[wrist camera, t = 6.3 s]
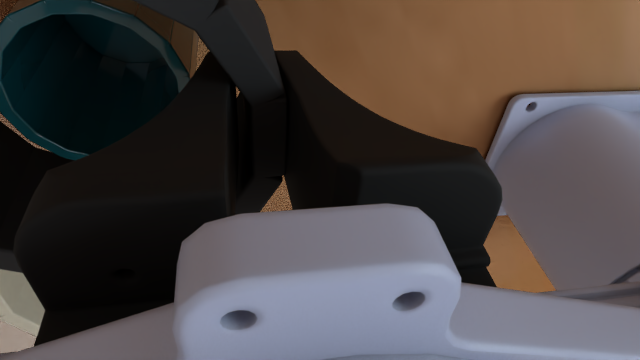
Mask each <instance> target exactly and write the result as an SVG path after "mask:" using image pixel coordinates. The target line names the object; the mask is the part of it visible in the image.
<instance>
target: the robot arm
mask: <svg viewBox="0 0 640 360" xmlns="http://www.w3.org/2000/svg"><path fill="white" fill-rule="evenodd" d="M274 53H275V57H276V61H277V64H278V68H279V72H280V75H281V78H282V82H283V86H284V89H285V93H286V96H287V100H288V109H287V150H286V173H285V175H284V177H285V181H286V185H287V189H288V193H289V196H290V200H291V204H292V209H293V210H286V211H272V212H258V213H244V214H238V215H235V212H236V193H237V177H238V161H239V133H238V116H237V99H236V85H235V84H234V83H233V81H232V80H231V79H230V77H229V76H228V75H227V73H226V72H225V71H224V69H223V68H222V67H221V65H220V64H219V63H218V61H217V60H216V59H215V57H214V56H213V55H212V53H211V52H209V53H208V54H207V55H206V56H205V58H204V60H203V61H202V63H201V65H200V66H199V68H198V69H197V71H196V72H195V74H194V75H193V76H192V78H191V79H190V80H189V82H188V83H187V84H186V86H185V87H184V88H183V89H182V90H181V92H180V93H179V94H178V95H177V96H176V97H175V98H174V99H173V100H172V102H171V103H170V104H169V105H168V106H167V107H166V108H165V109H164V110H162V111H161V112H160V113H159V114H158V115H156V116H155V117H154V118H153V119H151V120H150V121H149V122H147V123H146V124H144V125H143V126H141V127H140V128H138V129H136V130H135V131H133V132H132V133H130V134H129V135H127V136H126V137H124V138H122V139H120V140H119V141H117V142H115V143H113V144H111V145H109V146H107V147H105V148H103V149H101V150H99V151H97V152H95V153H92V154H90V155H88V156H85V157H83V158H80V159H77V160H75V161H72V162H69V163H67V164H64V165H62V166H59V167H56V168H53V169H50V170H47V172H46V173H45V175H44V177H43V179H42V180H41V182H40V184H39V185H38V187H37V189H36V190H35V192H34V194H33V196H32V198H31V200H30V202H29V205H28V207H27V209H26V212H25V214H24V217H23V219H22V221H21V224H20V226H19V228H18V231H17V233H16V235H15V240H14V249H13V252H14V255H15V258H16V261H17V263H18V266H19V268H20V269H21V271H22V273H23V274H24V276H25V278H26V279H27V281H28V283H29V284H30V286H31V288H32V289H33V291H34V293H35V294H36V296H37V298H38V299H39V301H40V302H41V304H42V306H43V307H44V309H45V312H44V316H43V319H42V322H41V325H40V328H39V332H38V335H37V338H36V341H35V344H34V347H31V348H28V349H24V350H21V351H18V352H10V353H1V354H0V360H640V91H612V92H577V93H542V94H520V95H517V96H515V97H513V98H512V99H511V100H510V102H509V103H508V105H507V108H506V110H505V113H504V115H503V118H502V120H501V123H500V125H499V128H498V130H497V133H496V135H495V137H494V140H493V142H492V145H491V147H490V150H489V152H488V155H487V157H486V160H484V158H483V157H482V156H481V154H480V153H479V152H478V150H477V149H476V148H473V147H469V146H464V145H460V144H456V143H452V142H448V141H444V140H440V139H437V138H434V137H431V136H428V135H425V134H422V133H419V132H416V131H413V130H411V129H408V128H406V127H403V126H401V125H398V124H396V123H394V122H392V121H390V120H388V119H385V118H383V117H381V116H379V115H378V114H376V113H374V112H372V111H370V110H369V109H367V108H365V107H364V106H362V105H360V104H359V103H357V102H356V101H354V100H353V99H351V98H350V97H348V96H347V95H346V94H344V93H343V92H342V91H340V90H339V89H338V88H337V87H335V86H334V85H333V84H332V83H330V82H329V81H328V80H327V79H326V78H325V77H324V76H322V75H321V74H320V73H319V72H318V71H317V70H316V69H315V68H314V67H313V66H312V65H311V64H310V63H309V62H308V61H307V60H306V59H305V58H304V57H303V56H302V55H301V54H300V53H299V52H297V51H296V50H294V51H274ZM530 103H531V105H529V106H528V107H527V105H528V104H530ZM500 215H508V216H509V218H510V220H511V221H512V223H513V224H514V226H515V227H516V229H517V230H518V232H519V233H520V235H521V237H522V238H523V240H524V241H525V243H526V244H527V246H528V247H529V249H530V251H531V252H532V254H533V255H534V257H535V258H536V260H537V261H538V263H539V264H540V266H541V268H542V269H543V271H544V272H545V274H546V275H547V277H548V278H549V280H550V281H551V283H552V285H553V286H554V288H555V289H556V291H549V292H540V293H532V292H525V291H518V290H511V289H504V288H497V287H496V285H495V283H494V281H493V279H492V277H491V275H490V274H489V272H488V270H487V268H486V266H489V264H490V257H489V255H488V253H487V251H486V249H485V248H484V246H483V244H484V242H485V240H486V238H487V236H488V233H489V231H490V229H491V227H492V225H493V223H494V221H495V219H496V217H497V216H500Z"/></svg>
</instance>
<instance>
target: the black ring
mask: <svg viewBox="0 0 640 360" xmlns="http://www.w3.org/2000/svg"><path fill="white" fill-rule="evenodd" d="M133 1H135V2H137V3H139V4H141V5H143V6H145V7H147V8H149V9H151V10H153V11H155V12H157V13H159V14H161V15H163V16H165V17H168V18H170V19H172V20H174V21H176V22H178V23H180V24H182V25H184V26H186V27H188V28H190V29H192V30H194V31H195V32H196V33H197V35H198V36H199V37H200V39H201V40H202V41H203V43H204V44H205V45H206V47H207V48H208V49H209V51H210V52H211V53H212V55H213V56H214V57H215V59H216V60H217V61H218V63H219V64H220V65H221V67H222V68H223V69H224V71H225V72H226V73H227V75H228V76H229V77H230V79H231V80H232V81H233V83H234V84H235V85H236V87H237V88H238V89H239V91H240V93H239V95H238V97H237V98H236V99H237V116H238V133H239V161H238V177H237V193H236V212H235V215H238V214H244V213H258V212H260V211H261V210H262V208H263V207H264V205H265V204H266V203H267V201H268V200H269V199H270V197H271V196H272V195H273V193H274V192H275V191H276V189H277V188H278V187H279V185H280V184H281V183H282V176H283V175H285V173H286V150H287V109H288V100H287V96H286V93H285V89H284V86H283V82H282V78H281V75H280V72H279V68H278V64H277V61H276V57H275V53H274V49H273V45H272V42H271V38H270V34H269V31H268V27H267V24H266V20H265V17H264V14H263V13H262V11H261V9H260V8H259V6H258V4H257V3H256V1H255V0H133ZM72 161H75V160H71V159H66V158H63V157H60V156H58V155H56V154H54V153H52V152H49V151H45V150H42V149H39V148H35V147H34V146H32V145H31V144H30V143H28V142H27V141H26V140H24V139H23V138H22V137H20V136H19V135H18V134H16V133H15V132H14V131H12V130H11V129H10V128H8V127H7V126H6V125H5V124H3V123H2V122H1V121H0V269H2V270H7V271H13V272H19V273H22V271H21V269H20V268H19V266H18V263H17V261H16V258H15V255H14V252H13V249H14V240H15V235H16V233H17V231H18V228H19V226H20V224H21V221H22V219H23V217H24V214H25V212H26V209H27V207H28V205H29V202H30V200H31V198H32V196H33V194H34V192H35V190H36V189H37V187H38V185H39V184H40V182H41V180H42V179H43V177H44V175H45V173H46V172H47V170H50V169H53V168H56V167H59V166H62V165H64V164H67V163H69V162H72Z"/></svg>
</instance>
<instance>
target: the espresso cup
mask: <svg viewBox="0 0 640 360" xmlns="http://www.w3.org/2000/svg"><path fill="white" fill-rule="evenodd" d="M197 50H198V35H197V33H196V32H195V31H194V30H192V29H190V28H188V27H186V26H184V25H182V24H180V23H178V22H176V21H174V20H172V19H170V18H168V17H165V16H163V15H161V14H159V13H157V12H155V11H153V10H151V9H149V8H147V7H145V6H143V5H141V4H139V3H137V2H135V1H133V0H18V2H17V3H16V4H15V5H14V6H13V8H12V9H11V10H10V11H9V12H8V14H7V15H6V16H5V17H4V19H3V20H2V21H1V23H0V112H1V114H2V115H3V116H4V117H5V118H6V119H7V120H8V121H9V122H10V123H11V124H12V125H13V126H14V127H15V128H16V129H17V130H18V131H20V132H21V133H22V134H23V135H24V136H25V137H26V138H27V139H29V140H30V141H32V142H33V143H35V144H37V145H39V146H41V147H43V148H45V149H47V150H49V151H51V152H53V153H54V154H56V155H58V156H60V157H63V158H66V159H71V160H77V159H80V158H83V157H85V156H88V155H90V154H92V153H95V152H97V151H99V150H101V149H103V148H105V147H107V146H109V145H111V144H113V143H115V142H117V141H119V140H120V139H122V138H124V137H126V136H127V135H129V134H130V133H132V132H133V131H135V130H136V129H138V128H140V127H141V126H143V125H144V124H146V123H147V122H149V121H150V120H151V119H153V118H154V117H155V116H156V115H158V114H159V113H160V112H161V111H162V110H164V109H165V108H166V107H167V106H168V105H169V104H170V103H171V102H172V100H173V99H174V98H175V97H176V96H177V95H178V94H179V93H180V92H181V90H182V89H183V88H184V87H185V86H186V84H187V83H188V82H189V80H190V79H191V78H192V76H193V75H194V74H195V72H196V66H197Z"/></svg>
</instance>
